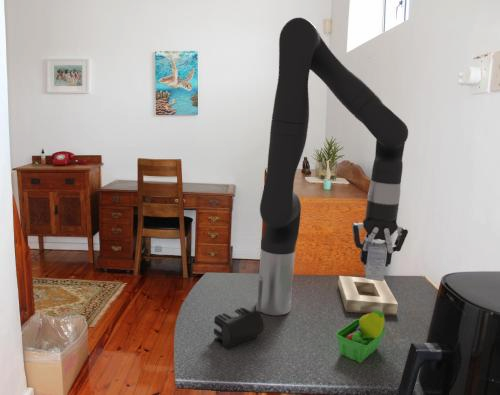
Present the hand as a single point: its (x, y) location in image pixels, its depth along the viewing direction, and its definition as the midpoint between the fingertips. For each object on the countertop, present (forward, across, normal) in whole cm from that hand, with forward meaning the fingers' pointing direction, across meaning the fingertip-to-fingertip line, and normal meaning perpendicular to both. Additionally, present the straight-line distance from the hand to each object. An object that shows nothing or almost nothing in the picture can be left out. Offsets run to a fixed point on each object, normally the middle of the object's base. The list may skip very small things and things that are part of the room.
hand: (374, 264), depth 116 cm
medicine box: (+3, 0, 0) cm, 3 cm away
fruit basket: (+17, -4, -14) cm, 22 cm away
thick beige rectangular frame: (+17, +2, +16) cm, 23 cm away
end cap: (+17, -33, -14) cm, 40 cm away
